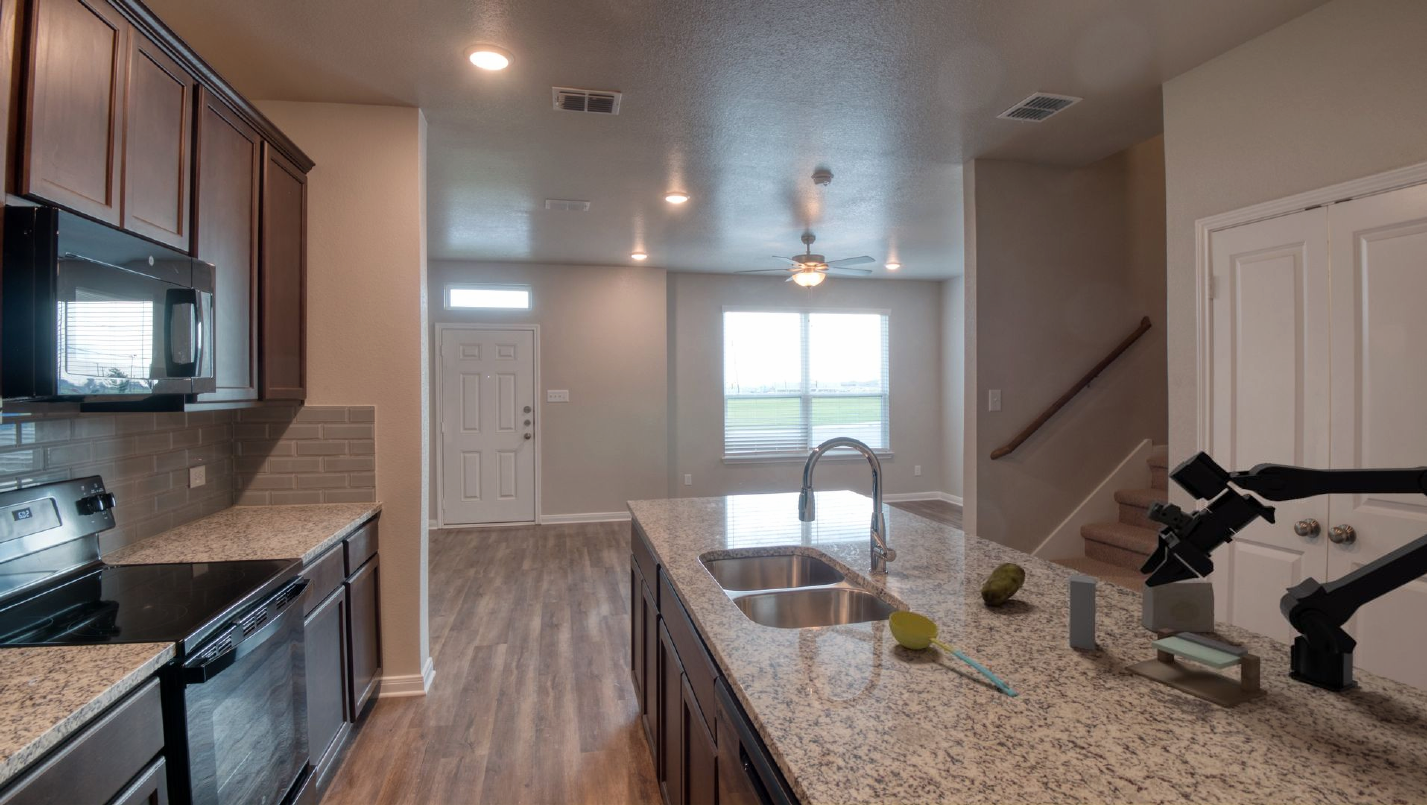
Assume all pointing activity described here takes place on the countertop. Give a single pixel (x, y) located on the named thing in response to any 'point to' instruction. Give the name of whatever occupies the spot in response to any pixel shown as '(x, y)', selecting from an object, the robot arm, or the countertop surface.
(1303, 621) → the robot arm
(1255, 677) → the trapdoor frame
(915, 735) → the countertop surface
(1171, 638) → the trapdoor
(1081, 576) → the grey rectangular block
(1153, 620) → the grey plaster block
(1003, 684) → the ladle
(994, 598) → the potato
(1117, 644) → the countertop surface
